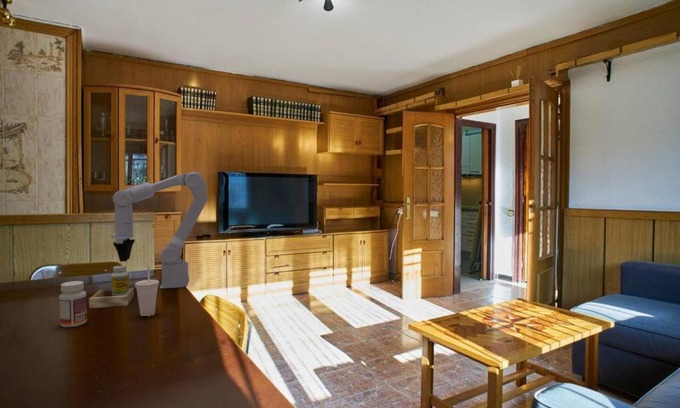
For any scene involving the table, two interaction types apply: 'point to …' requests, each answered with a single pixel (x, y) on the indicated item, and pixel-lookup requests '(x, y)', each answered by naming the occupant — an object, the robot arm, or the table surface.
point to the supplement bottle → (119, 280)
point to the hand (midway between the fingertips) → (124, 260)
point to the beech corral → (110, 299)
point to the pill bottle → (72, 304)
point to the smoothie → (147, 295)
